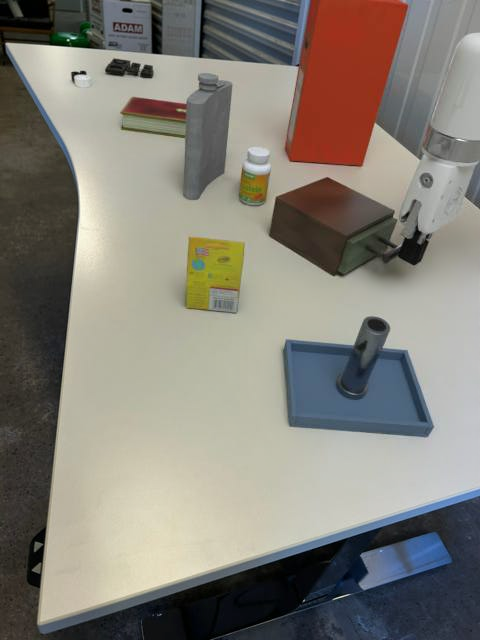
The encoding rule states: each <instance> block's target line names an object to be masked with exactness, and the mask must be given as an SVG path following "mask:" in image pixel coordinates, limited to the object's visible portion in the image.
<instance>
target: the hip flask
mask: <svg viewBox="0 0 480 640" xmlns="http://www.w3.org/2000/svg"><path fill="white" fill-rule="evenodd" d="M197 81H198V89H196V90H195V91H193V92H192V93H191V94H190V95H189V96H188V97H187V98H186V103H185V104H186V131H185V138H184V164H183V165H184V166H183V190H182V191H183V193H182V195H183V196H182V197H184V198H185V199H186V200H191V201H195V200H198V199H200V197H201V195H202V193H203V192H204V190H205V189H206V188H207V187H208V186H209V185H210V184H211V183H212V182H214V180H216V179H217V178H219V177H220V176H222V175H223V174H225V171H226V170H225V169H226V162H227V161H226V160H227V149H228V138H229V128H230V118H231V117H230V116H231V106H232V95H233V82H231V81H229V80H224V79H220V80H219V76H218V75H217V74H214V73H209V72H201V73H199V74H197Z"/></svg>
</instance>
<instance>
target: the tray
mask: <svg viewBox="0 0 480 640" xmlns="http://www.w3.org/2000/svg"><path fill="white" fill-rule="evenodd" d="M353 346H354V344H344V343H343V344H342V343H331V342H320V341H309V340H297V339H288V338H287V339H285V342H284V345H283V363H284V376H285V377H284V378H285V386H286V387H285V388H286V402H287V414H288V416H287V417H288V426H289V427H294V428H307V429H317V430H319V429H320V430H331V431H343V432H356V433H357V432H358V433H370V434H382V435H395V436H396V435H397V436H408V437H409V436H410V437H419V438H420V437H423V438H429V436H430V435H431V433H432V431H433V429H434V428H435V425H434V423H433V419H432V417H431V413H430V411H429V408H428V405H427V402H426V400H425V397H424V394H423V391H422V388H421V385H420V383H419V382H420V381H419V379H418V376H417V374H416V370H415V368H414V365H413V362H412V359H411V357H410V354H409V350H408V349H399V348H398V349H397V348H387V347H383V348H382V350H381V352H380V355H379V357H378V359H377V362H376V364H375V366H374V368H373V371H372V373H371V375H370V378H369V380H368V385H369V388H368V391H367V393H366V395H365V396H364V397H363V398H361V399H358V400H352V399H348V398H346V397H344V396H343V395H341V394H340V393H339V391H338V390H337V387H336V382H337V379H338V377H339V375H340V374H341V373H343V372H344V370H345V367H346V365H347V362H348V360H349V357H350V354H351V352H352V349H353Z"/></svg>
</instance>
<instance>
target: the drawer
mask: <svg viewBox="0 0 480 640" xmlns="http://www.w3.org/2000/svg"><path fill="white" fill-rule="evenodd" d="M398 221H399V218H396V217H394V216H393V217H390V218H388V219H386V220H384V221H382V222H379V223H377V224H375V225H373V226H371V227H370V228H368V229H366V230H364V231H362V232H360V233H358V234H356V235H354V236H352V237H351V238H349V239H348V240H347V242H346V246H345V249H344V252H343V256H342V259H341V262H340V265H339V269H338V271H339V272H341V273H340V274H342V275H345V274H347V273H348V272H350V271H352V270H354V269H355V268H357V267H358V266H360V265H362V264H363V263H365V262H367V261H369V260H370V259H373V258H374V257H375V256H377V257H379V258H380V259H381V262H382V263H383V264H388V263H390V262H391V261H393V260H395V259H396V258H399V257H398V254H399V251H400V249H401V246H402V244H399V245H398V244H396V243H394V242H392V241H391V239H392V236H393V234H394V231H395V228H396V226H397V223H398ZM388 248H391V250H390V251H388V252H386V253H384V251H385V250H387V249H388Z"/></svg>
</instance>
